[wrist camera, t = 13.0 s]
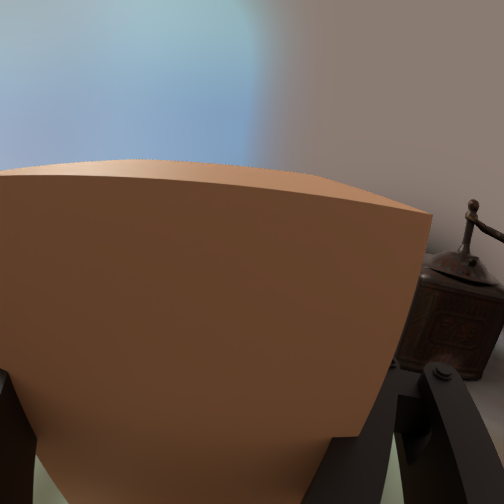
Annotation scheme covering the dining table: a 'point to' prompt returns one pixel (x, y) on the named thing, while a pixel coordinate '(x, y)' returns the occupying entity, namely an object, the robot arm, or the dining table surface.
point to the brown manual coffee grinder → (454, 309)
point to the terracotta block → (197, 323)
